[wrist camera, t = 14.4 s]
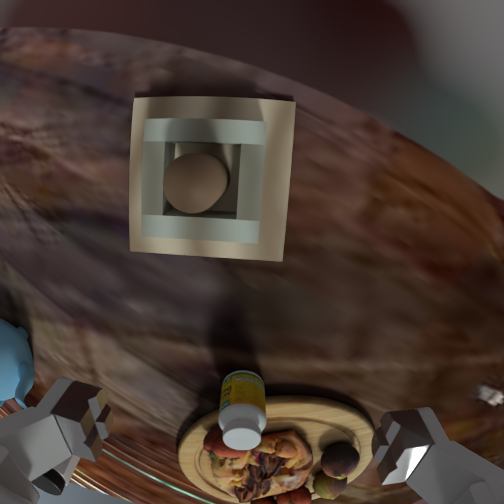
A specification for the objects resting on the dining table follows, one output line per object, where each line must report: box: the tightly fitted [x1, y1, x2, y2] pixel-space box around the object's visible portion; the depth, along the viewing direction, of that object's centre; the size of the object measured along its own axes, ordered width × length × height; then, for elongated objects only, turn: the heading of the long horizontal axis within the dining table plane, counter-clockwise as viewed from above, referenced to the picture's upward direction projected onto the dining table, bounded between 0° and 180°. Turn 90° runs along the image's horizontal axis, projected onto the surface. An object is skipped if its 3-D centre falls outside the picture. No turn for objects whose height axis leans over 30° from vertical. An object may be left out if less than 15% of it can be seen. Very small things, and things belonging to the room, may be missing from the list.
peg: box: [163, 153, 230, 213], centre depth 26 cm, size 4×4×8 cm
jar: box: [31, 454, 80, 495], centre depth 37 cm, size 9×8×12 cm
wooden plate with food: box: [178, 395, 375, 504], centre depth 40 cm, size 32×32×8 cm
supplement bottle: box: [218, 370, 266, 450], centre depth 34 cm, size 5×5×10 cm
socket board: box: [129, 96, 296, 261], centre depth 29 cm, size 16×16×5 cm
